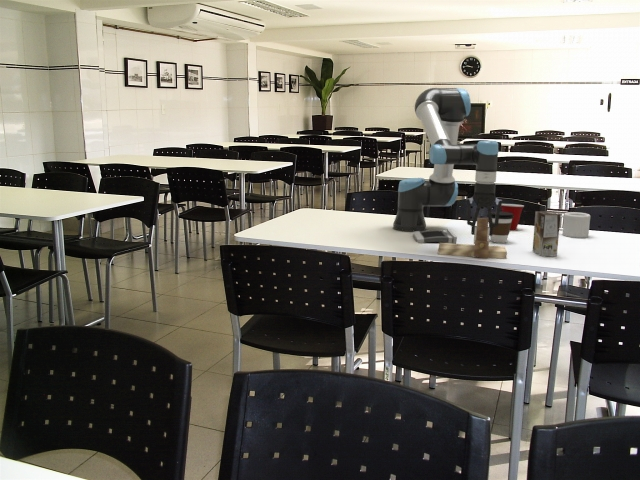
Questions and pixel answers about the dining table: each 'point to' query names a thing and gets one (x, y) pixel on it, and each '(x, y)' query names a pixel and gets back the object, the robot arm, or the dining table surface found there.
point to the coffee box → (546, 233)
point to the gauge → (481, 238)
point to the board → (470, 250)
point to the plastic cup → (515, 211)
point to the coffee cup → (501, 227)
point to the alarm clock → (435, 236)
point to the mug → (576, 225)
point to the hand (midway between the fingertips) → (481, 243)
